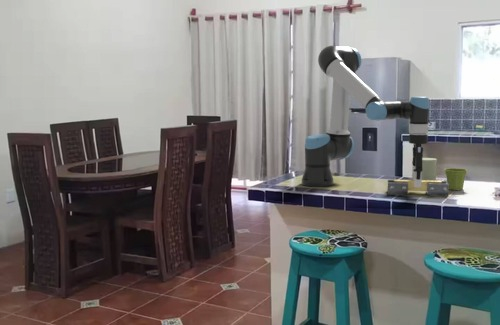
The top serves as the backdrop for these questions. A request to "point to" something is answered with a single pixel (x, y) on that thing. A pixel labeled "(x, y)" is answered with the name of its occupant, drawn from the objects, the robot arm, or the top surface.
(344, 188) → the top surface
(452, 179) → the plant pot
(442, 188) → the chain end right
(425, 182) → the yellow wooden bar
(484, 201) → the top surface
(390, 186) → the chain end left
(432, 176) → the can
